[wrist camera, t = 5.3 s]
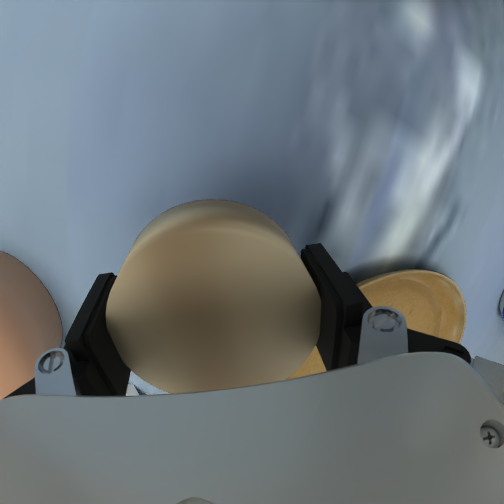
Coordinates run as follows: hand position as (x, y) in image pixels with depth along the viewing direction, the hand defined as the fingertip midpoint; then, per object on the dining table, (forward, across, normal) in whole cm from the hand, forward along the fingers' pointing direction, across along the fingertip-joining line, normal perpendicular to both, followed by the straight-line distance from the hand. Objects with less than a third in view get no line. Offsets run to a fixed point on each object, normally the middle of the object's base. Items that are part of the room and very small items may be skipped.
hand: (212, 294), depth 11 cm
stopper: (+4, 0, 0) cm, 4 cm away
